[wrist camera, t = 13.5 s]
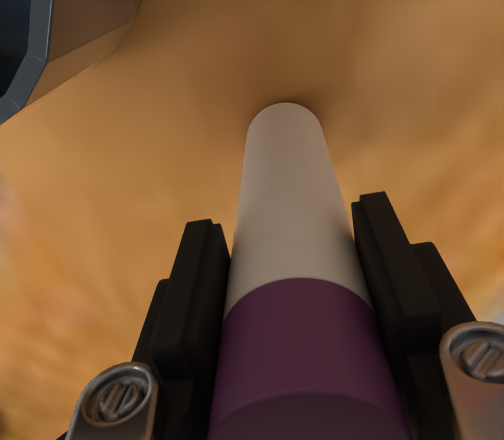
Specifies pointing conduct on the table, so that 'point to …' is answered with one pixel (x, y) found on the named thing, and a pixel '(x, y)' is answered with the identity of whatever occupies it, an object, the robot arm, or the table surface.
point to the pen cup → (54, 45)
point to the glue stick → (298, 302)
